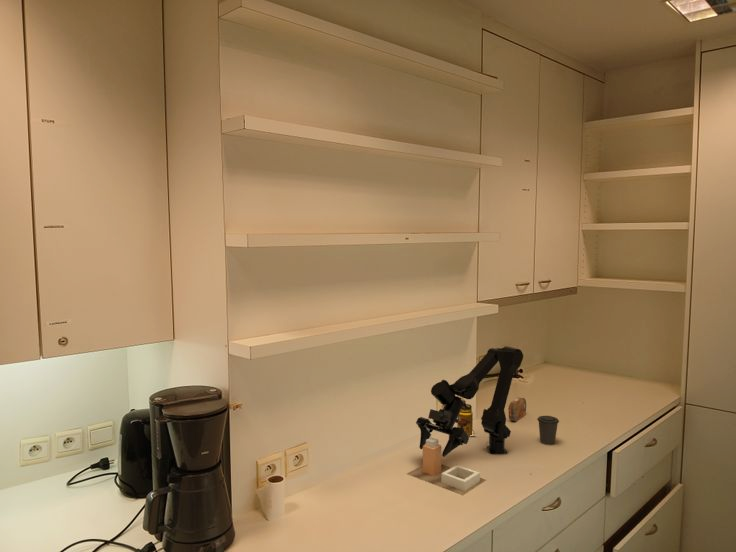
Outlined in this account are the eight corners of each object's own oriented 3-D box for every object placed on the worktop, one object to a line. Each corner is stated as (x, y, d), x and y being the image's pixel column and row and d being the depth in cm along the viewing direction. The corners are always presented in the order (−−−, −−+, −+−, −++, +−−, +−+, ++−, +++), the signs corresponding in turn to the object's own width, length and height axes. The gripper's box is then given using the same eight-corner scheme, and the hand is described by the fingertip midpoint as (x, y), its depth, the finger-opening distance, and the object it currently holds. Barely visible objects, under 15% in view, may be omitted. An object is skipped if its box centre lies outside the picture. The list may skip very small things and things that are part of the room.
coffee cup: (560, 447, 204) (560, 421, 203) (537, 445, 205) (538, 420, 205) (557, 439, 212) (557, 414, 211) (535, 437, 213) (536, 413, 212)
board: (406, 477, 179) (406, 473, 178) (431, 464, 189) (431, 460, 189) (462, 499, 164) (462, 495, 164) (486, 483, 174) (486, 479, 174)
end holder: (441, 482, 172) (441, 473, 172) (456, 473, 179) (456, 464, 178) (464, 491, 166) (465, 481, 166) (479, 481, 173) (479, 472, 172)
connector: (422, 471, 180) (422, 440, 179) (430, 467, 183) (430, 436, 182) (433, 475, 177) (433, 443, 176) (441, 471, 180) (441, 439, 179)
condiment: (457, 437, 214) (457, 407, 213) (454, 429, 222) (454, 401, 222) (475, 437, 214) (476, 407, 213) (471, 429, 222) (472, 401, 222)
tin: (513, 423, 229) (514, 404, 229) (506, 422, 231) (507, 403, 231) (526, 414, 241) (527, 396, 241) (520, 413, 243) (520, 394, 243)
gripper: (419, 394, 188) (399, 433, 181) (464, 405, 176) (445, 448, 168) (432, 411, 195) (413, 449, 187) (477, 423, 182) (458, 464, 175)
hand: (431, 452), depth 179 cm, fingers open, 9 cm apart
